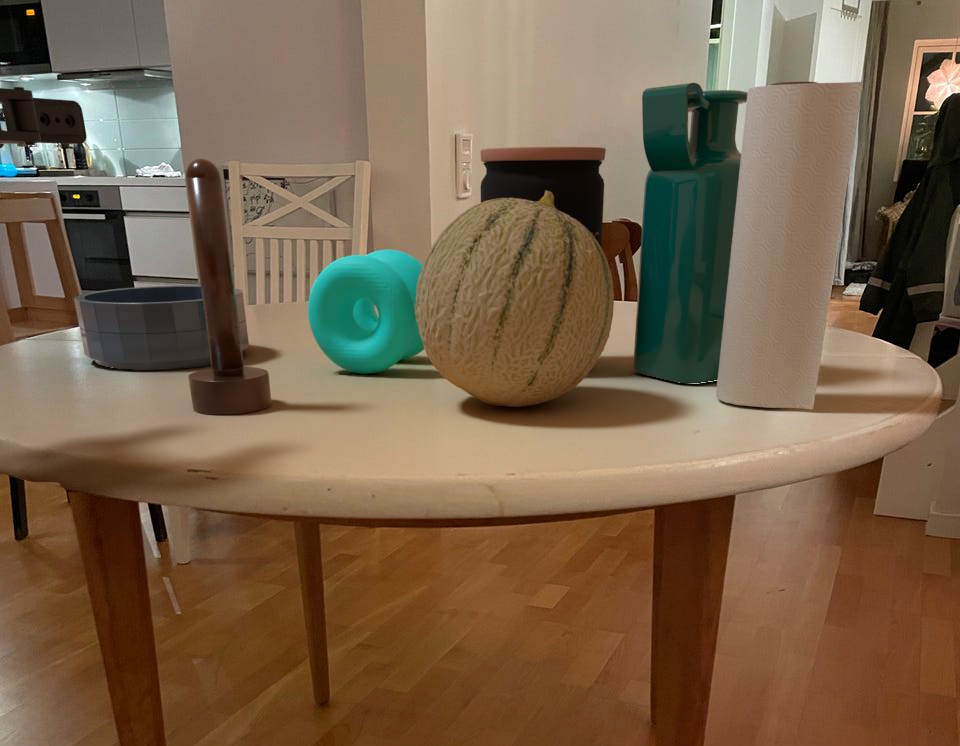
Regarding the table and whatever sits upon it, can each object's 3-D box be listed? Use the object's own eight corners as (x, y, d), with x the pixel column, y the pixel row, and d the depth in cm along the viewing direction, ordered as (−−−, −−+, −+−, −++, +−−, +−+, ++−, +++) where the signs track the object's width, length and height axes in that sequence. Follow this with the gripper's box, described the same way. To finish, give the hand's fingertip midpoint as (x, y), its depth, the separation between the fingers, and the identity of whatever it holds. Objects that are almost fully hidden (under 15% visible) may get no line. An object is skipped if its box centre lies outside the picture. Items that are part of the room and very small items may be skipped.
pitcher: (691, 362, 87) (716, 93, 77) (760, 376, 81) (796, 85, 71) (611, 373, 82) (627, 89, 73) (677, 389, 76) (704, 79, 66)
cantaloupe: (379, 407, 71) (367, 192, 64) (500, 378, 81) (501, 189, 74) (529, 437, 62) (534, 192, 56) (645, 401, 72) (660, 189, 65)
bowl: (58, 371, 86) (44, 303, 83) (125, 344, 100) (115, 285, 97) (222, 372, 85) (213, 303, 82) (267, 344, 99) (260, 285, 96)
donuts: (307, 374, 84) (297, 255, 79) (352, 355, 92) (344, 248, 88) (410, 379, 81) (405, 257, 77) (446, 359, 90) (443, 249, 85)
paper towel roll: (706, 393, 75) (736, 87, 65) (779, 392, 75) (820, 87, 65) (733, 413, 68) (771, 77, 59) (813, 412, 68) (864, 77, 59)
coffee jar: (512, 381, 79) (513, 146, 71) (463, 362, 88) (460, 150, 80) (617, 371, 83) (630, 146, 75) (561, 353, 92) (567, 150, 84)
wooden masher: (182, 414, 69) (142, 158, 62) (207, 397, 75) (174, 159, 67) (260, 415, 69) (230, 157, 61) (280, 398, 74) (254, 159, 67)
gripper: (-227, 1, 39) (98, 43, 51) (-355, 33, 46) (-42, 64, 58) (-170, 196, 43) (123, 192, 55) (-297, 198, 50) (-13, 195, 62)
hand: (37, 126), depth 57 cm, fingers open, 8 cm apart
